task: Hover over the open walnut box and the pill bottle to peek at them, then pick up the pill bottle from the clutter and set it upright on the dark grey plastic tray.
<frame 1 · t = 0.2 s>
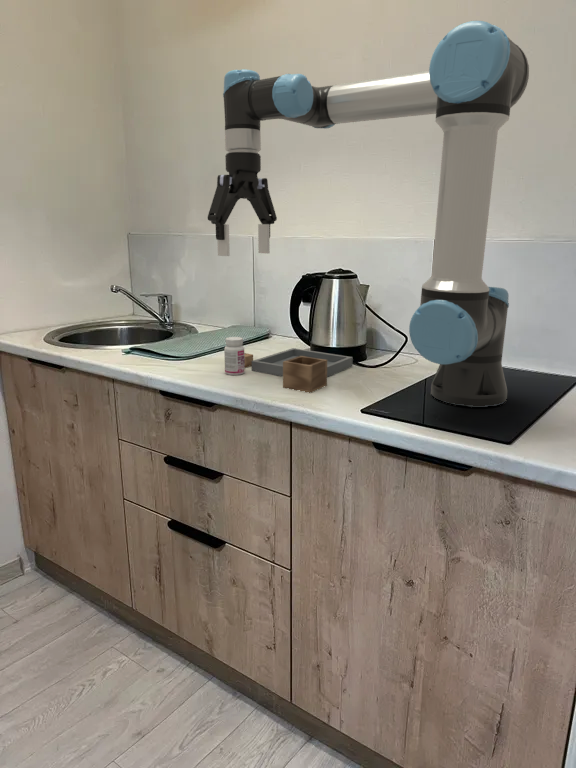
hand: (244, 254, 128), 28 cm above the counter, fingers open, 13 cm apart
stained block: (240, 365, 145), on the counter
walnut box: (304, 387, 127), on the counter, touching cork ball
pill bottle: (234, 373, 137), on the counter
tray: (302, 368, 142), on the counter
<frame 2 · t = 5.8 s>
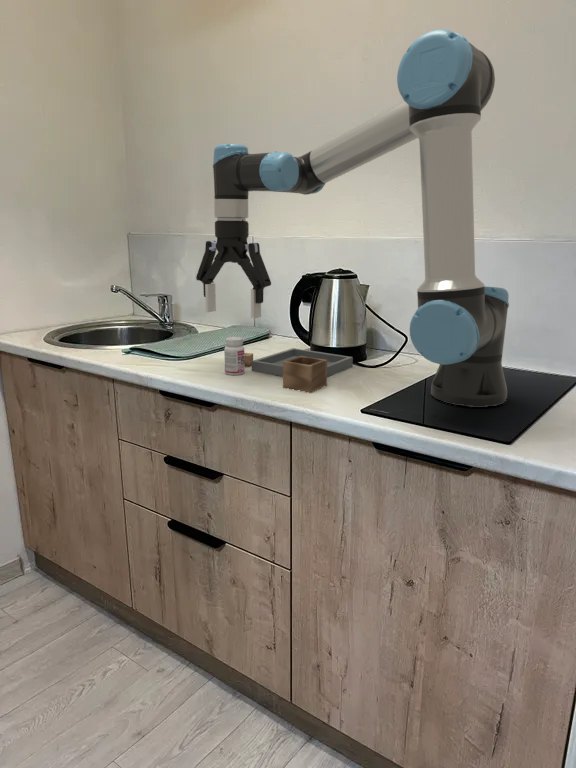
hand: (232, 314, 134), 14 cm above the counter, fingers open, 13 cm apart
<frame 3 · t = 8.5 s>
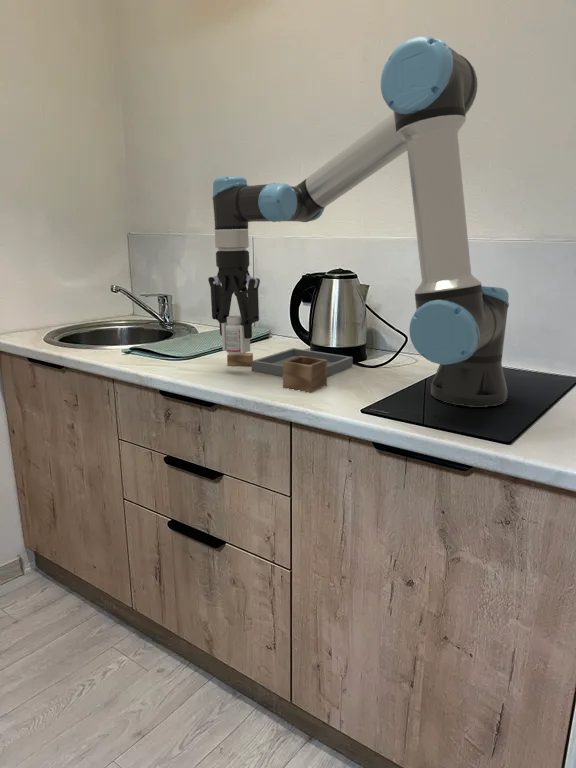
hand: (236, 350, 135), 6 cm above the counter, fingers closed on pill bottle, 5 cm apart
pill bottle: (236, 353, 136), point 5 cm above the counter, touching gripper
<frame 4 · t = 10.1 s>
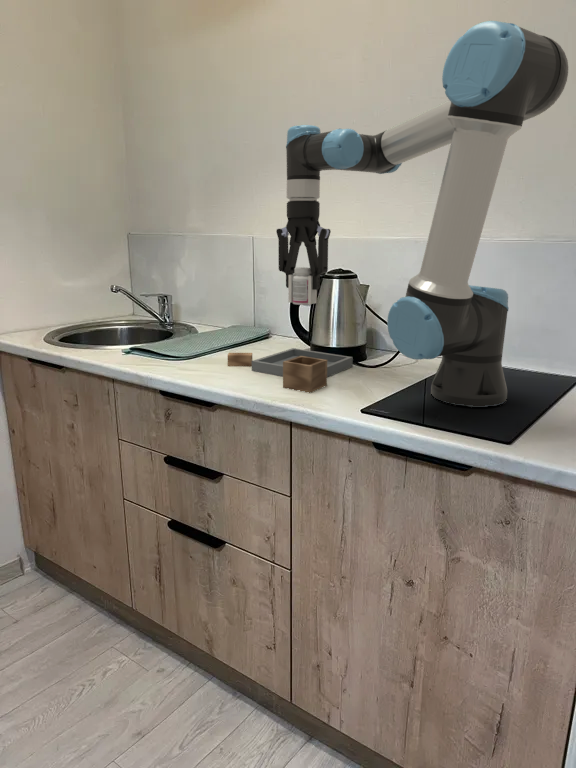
hand: (302, 302, 137), 16 cm above the counter, fingers closed on pill bottle, 5 cm apart
pill bottle: (302, 304, 137), point 16 cm above the counter, touching gripper
everything else where it was.
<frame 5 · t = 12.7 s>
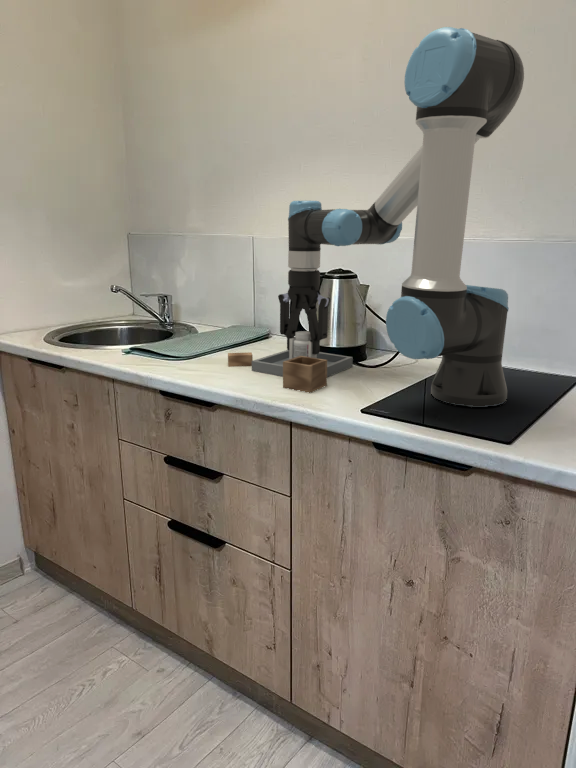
hand: (302, 364, 141), 1 cm above the counter, fingers closed on pill bottle, tray, 5 cm apart
pill bottle: (302, 366, 142), resting on tray, touching gripper
when the fingers open (1 cm above the counter, at t = 12.9 s): pill bottle stays where it is, resting on tray.
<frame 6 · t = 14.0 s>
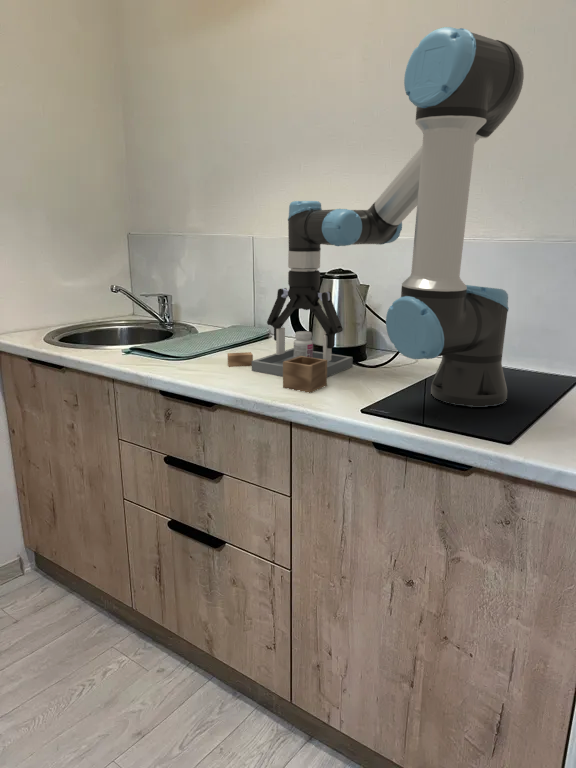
hand: (303, 357, 141), 3 cm above the counter, fingers open, 13 cm apart
pill bottle: (302, 366, 142), resting on tray
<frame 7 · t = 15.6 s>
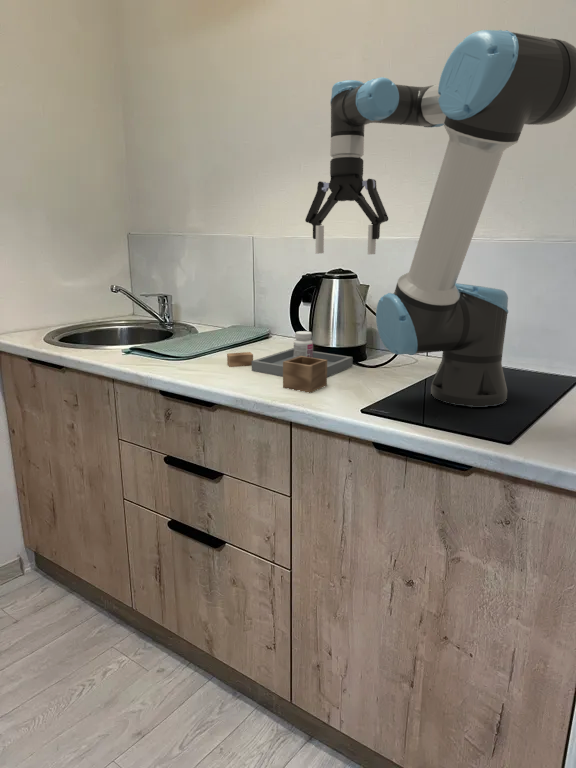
hand: (344, 254, 136), 28 cm above the counter, fingers open, 13 cm apart
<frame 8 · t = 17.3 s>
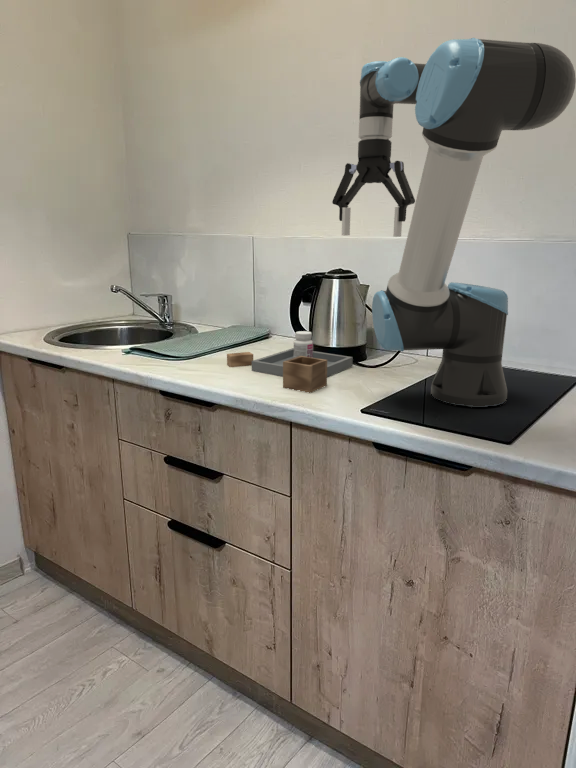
hand: (370, 236, 137), 32 cm above the counter, fingers open, 13 cm apart
at the end: pill bottle inside the target area on the tray (0.1 cm from its centre), point 0.4 cm above the tray's base; pill bottle tilted 0°; the gripper is holding nothing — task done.
